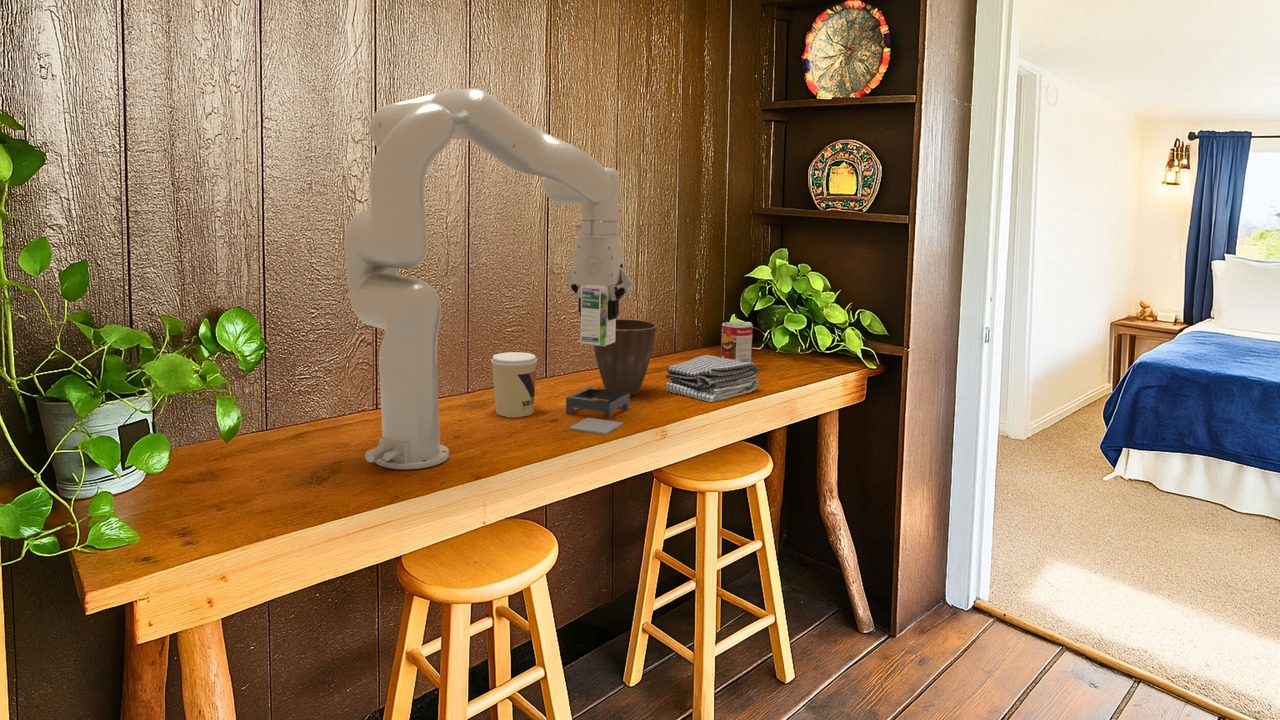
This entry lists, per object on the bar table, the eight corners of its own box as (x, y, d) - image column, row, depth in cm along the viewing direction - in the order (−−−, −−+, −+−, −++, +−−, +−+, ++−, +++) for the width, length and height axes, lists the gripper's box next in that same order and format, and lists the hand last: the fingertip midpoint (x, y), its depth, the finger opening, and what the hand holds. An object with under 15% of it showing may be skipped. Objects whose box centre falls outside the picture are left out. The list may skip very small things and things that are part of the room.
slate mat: (606, 434, 166) (606, 432, 166) (569, 429, 169) (569, 427, 169) (623, 424, 173) (623, 422, 173) (587, 419, 176) (587, 417, 176)
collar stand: (609, 419, 177) (609, 403, 176) (566, 413, 181) (566, 397, 180) (629, 408, 186) (629, 392, 185) (587, 402, 190) (587, 387, 189)
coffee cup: (528, 420, 175) (528, 362, 173) (485, 416, 177) (484, 359, 175) (543, 408, 184) (542, 353, 182) (501, 405, 186) (500, 350, 184)
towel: (761, 392, 203) (763, 359, 202) (709, 405, 191) (710, 370, 189) (712, 380, 214) (714, 349, 212) (660, 392, 202) (661, 359, 200)
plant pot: (599, 383, 208) (600, 317, 205) (660, 387, 205) (661, 320, 202) (582, 398, 194) (583, 327, 190) (648, 402, 191) (649, 331, 187)
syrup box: (579, 344, 178) (579, 274, 176) (592, 339, 184) (593, 271, 181) (604, 347, 176) (605, 275, 173) (616, 342, 181) (617, 273, 179)
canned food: (735, 365, 231) (737, 320, 228) (756, 370, 225) (759, 325, 223) (714, 368, 226) (715, 323, 224) (735, 374, 220) (737, 327, 218)
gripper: (553, 228, 175) (553, 316, 179) (631, 232, 169) (629, 323, 172) (570, 227, 182) (569, 312, 186) (645, 230, 175) (643, 318, 179)
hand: (598, 316), depth 179 cm, fingers closed on syrup box, 5 cm apart
